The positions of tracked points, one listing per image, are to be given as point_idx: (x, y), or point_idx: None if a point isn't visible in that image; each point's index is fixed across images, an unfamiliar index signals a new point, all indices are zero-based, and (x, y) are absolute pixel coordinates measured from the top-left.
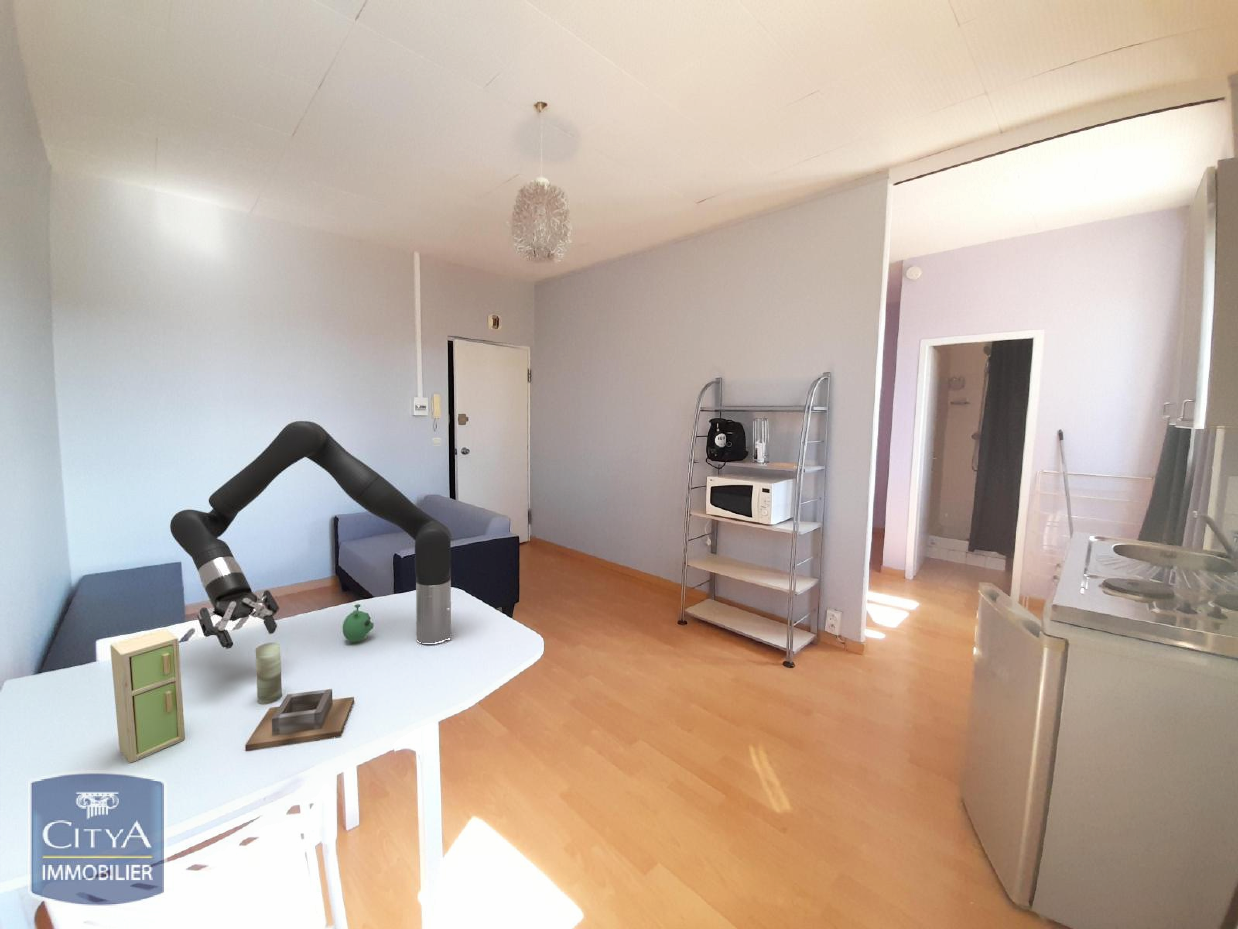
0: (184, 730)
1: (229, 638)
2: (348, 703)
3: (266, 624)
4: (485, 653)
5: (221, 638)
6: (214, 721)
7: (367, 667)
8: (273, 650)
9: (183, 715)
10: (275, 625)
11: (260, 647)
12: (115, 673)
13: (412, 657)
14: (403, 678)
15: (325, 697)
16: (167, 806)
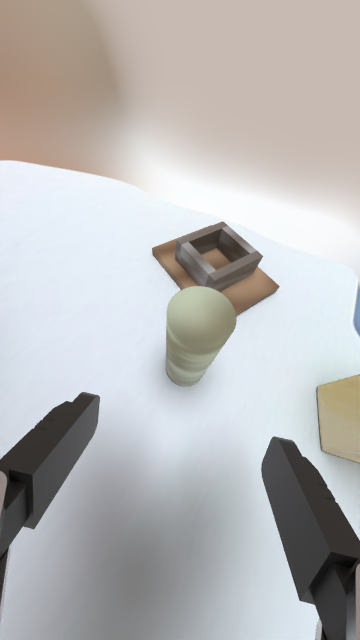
0: (328, 383)
1: (298, 467)
2: (167, 245)
3: (61, 470)
4: (6, 190)
5: (339, 509)
6: (269, 393)
7: (55, 292)
8: (205, 288)
9: (353, 376)
10: (59, 411)
11: (213, 332)
12: None
13: (16, 253)
14: (84, 236)
15: (197, 233)
16: (354, 289)
